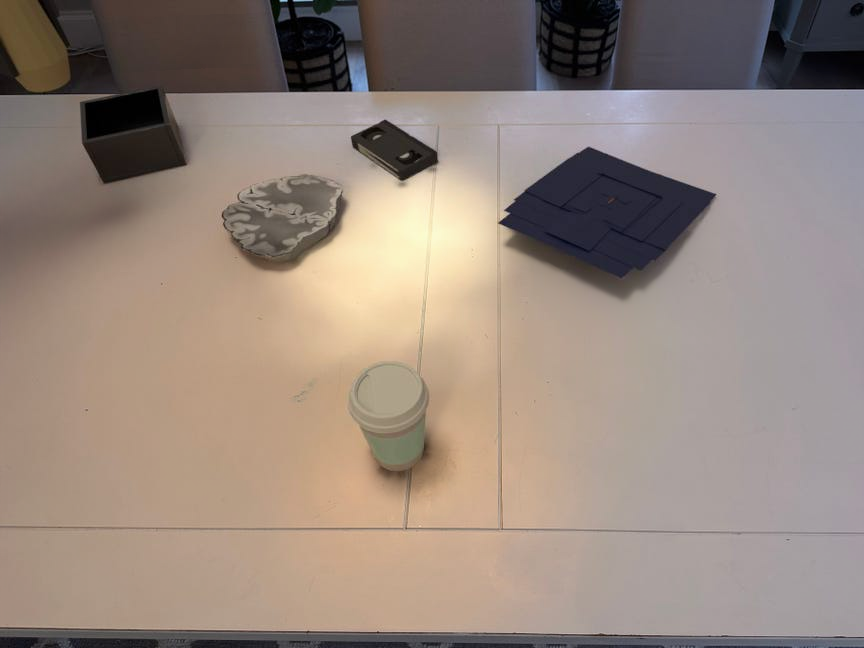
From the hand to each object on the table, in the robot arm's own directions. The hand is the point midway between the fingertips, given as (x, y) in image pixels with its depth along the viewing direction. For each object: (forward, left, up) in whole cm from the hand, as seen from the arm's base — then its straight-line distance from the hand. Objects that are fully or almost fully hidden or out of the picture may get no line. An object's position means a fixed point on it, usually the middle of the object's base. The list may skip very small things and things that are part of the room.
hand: (35, 59), depth 89 cm
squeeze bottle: (0, 0, -3) cm, 3 cm away
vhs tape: (+46, -2, -25) cm, 52 cm away
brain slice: (+24, -14, -25) cm, 38 cm away
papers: (+71, -32, -25) cm, 82 cm away
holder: (+5, +16, -25) cm, 30 cm away
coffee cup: (+28, -60, -25) cm, 71 cm away
